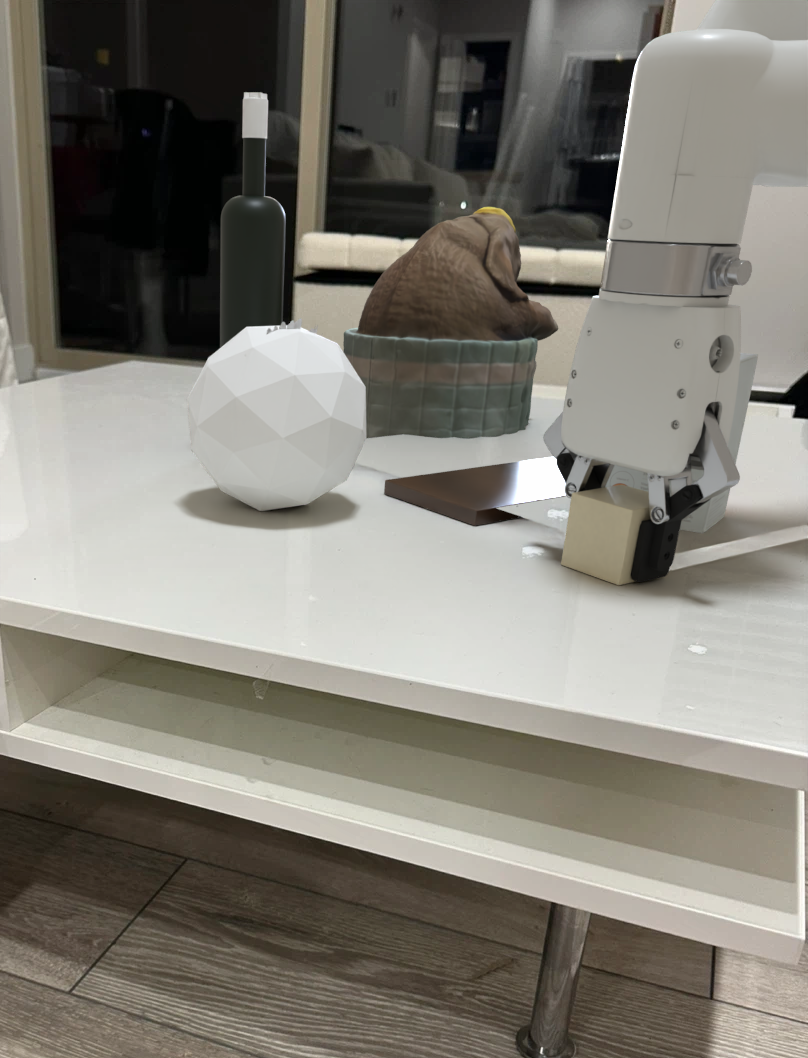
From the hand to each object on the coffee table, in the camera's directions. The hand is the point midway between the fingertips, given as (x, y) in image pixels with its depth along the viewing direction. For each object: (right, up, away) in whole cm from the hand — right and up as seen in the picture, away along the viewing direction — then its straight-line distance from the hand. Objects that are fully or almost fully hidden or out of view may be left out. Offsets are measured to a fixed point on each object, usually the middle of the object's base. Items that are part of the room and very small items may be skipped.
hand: (614, 563), depth 71 cm
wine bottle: (-25, +15, +31) cm, 43 cm away
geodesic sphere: (-23, +7, +13) cm, 27 cm away
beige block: (0, 0, 0) cm, 0 cm away
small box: (+6, +4, +10) cm, 12 cm away
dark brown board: (0, +9, +20) cm, 22 cm away
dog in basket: (-4, +22, +45) cm, 50 cm away
